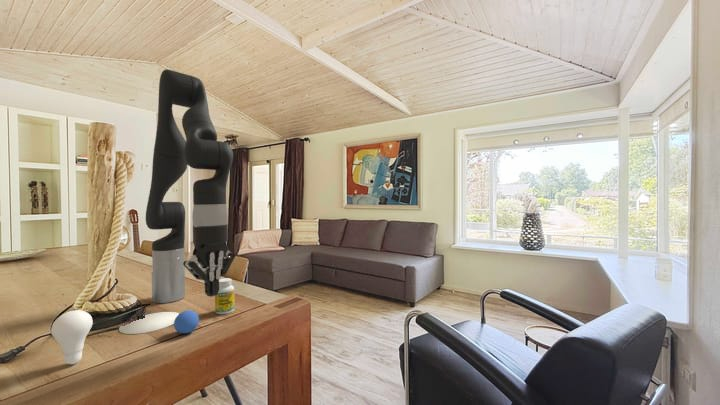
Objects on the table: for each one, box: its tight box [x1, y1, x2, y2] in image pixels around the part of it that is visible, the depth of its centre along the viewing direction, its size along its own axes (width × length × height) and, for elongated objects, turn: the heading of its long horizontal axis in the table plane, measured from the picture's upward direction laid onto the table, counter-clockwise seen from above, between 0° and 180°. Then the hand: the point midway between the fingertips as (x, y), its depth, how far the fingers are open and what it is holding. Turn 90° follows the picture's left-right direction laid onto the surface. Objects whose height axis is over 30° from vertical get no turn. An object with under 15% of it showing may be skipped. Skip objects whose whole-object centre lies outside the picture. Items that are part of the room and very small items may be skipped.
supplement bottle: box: [214, 277, 236, 315], centre depth 88 cm, size 5×5×10 cm
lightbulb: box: [50, 309, 94, 366], centre depth 60 cm, size 6×6×11 cm
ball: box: [173, 309, 200, 335], centre depth 74 cm, size 6×6×6 cm
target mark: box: [118, 311, 180, 335], centre depth 81 cm, size 14×14×1 cm
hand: (212, 295), depth 70 cm, fingers closed
